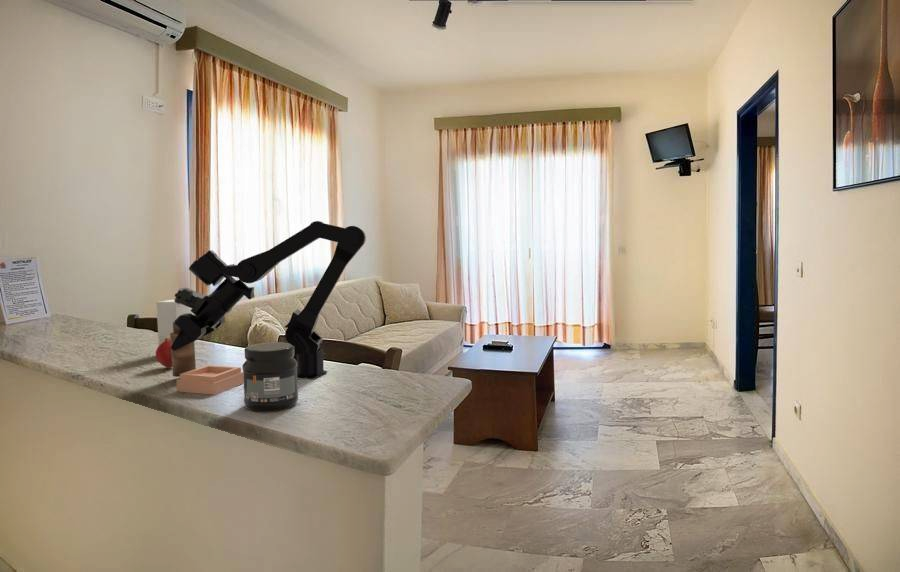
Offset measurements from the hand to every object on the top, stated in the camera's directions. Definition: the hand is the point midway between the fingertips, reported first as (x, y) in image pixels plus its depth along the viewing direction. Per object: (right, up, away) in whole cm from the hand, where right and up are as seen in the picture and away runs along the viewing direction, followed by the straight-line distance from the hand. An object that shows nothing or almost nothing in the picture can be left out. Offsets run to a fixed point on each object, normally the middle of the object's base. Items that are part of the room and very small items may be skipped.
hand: (176, 346), depth 132 cm
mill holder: (+11, -8, -6) cm, 15 cm away
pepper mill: (+1, -7, +1) cm, 7 cm away
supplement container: (+29, -10, -19) cm, 36 cm away
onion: (-8, -7, +12) cm, 16 cm away
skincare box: (-14, -5, +29) cm, 33 cm away
